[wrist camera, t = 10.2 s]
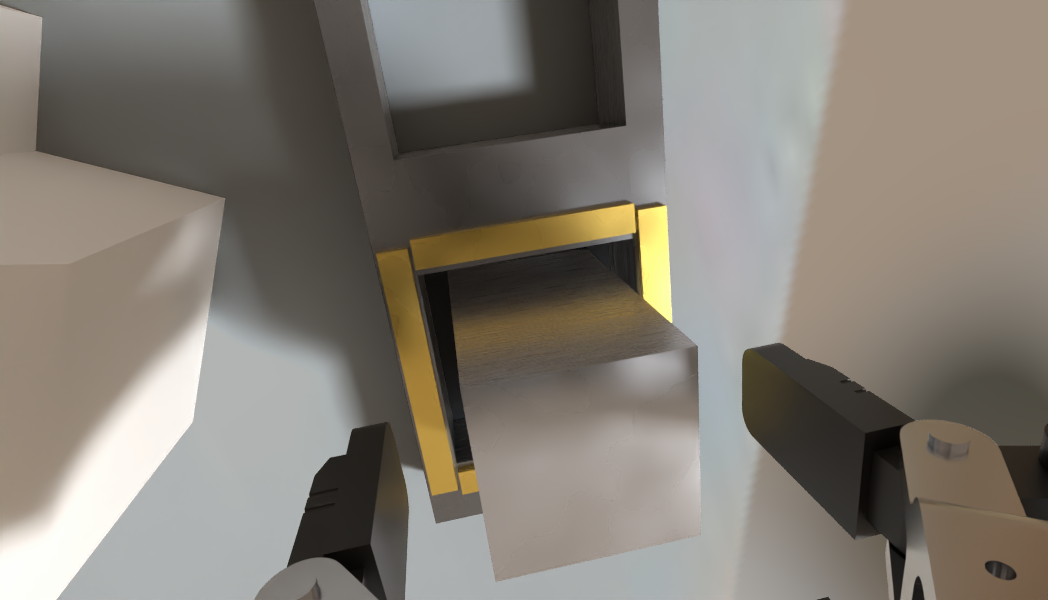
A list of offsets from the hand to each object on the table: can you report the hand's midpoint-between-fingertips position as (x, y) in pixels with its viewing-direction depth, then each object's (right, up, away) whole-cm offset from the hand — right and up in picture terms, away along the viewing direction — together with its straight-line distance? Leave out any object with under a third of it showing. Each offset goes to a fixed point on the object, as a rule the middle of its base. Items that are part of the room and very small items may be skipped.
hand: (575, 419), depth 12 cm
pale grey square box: (-1, +2, +6) cm, 7 cm away
